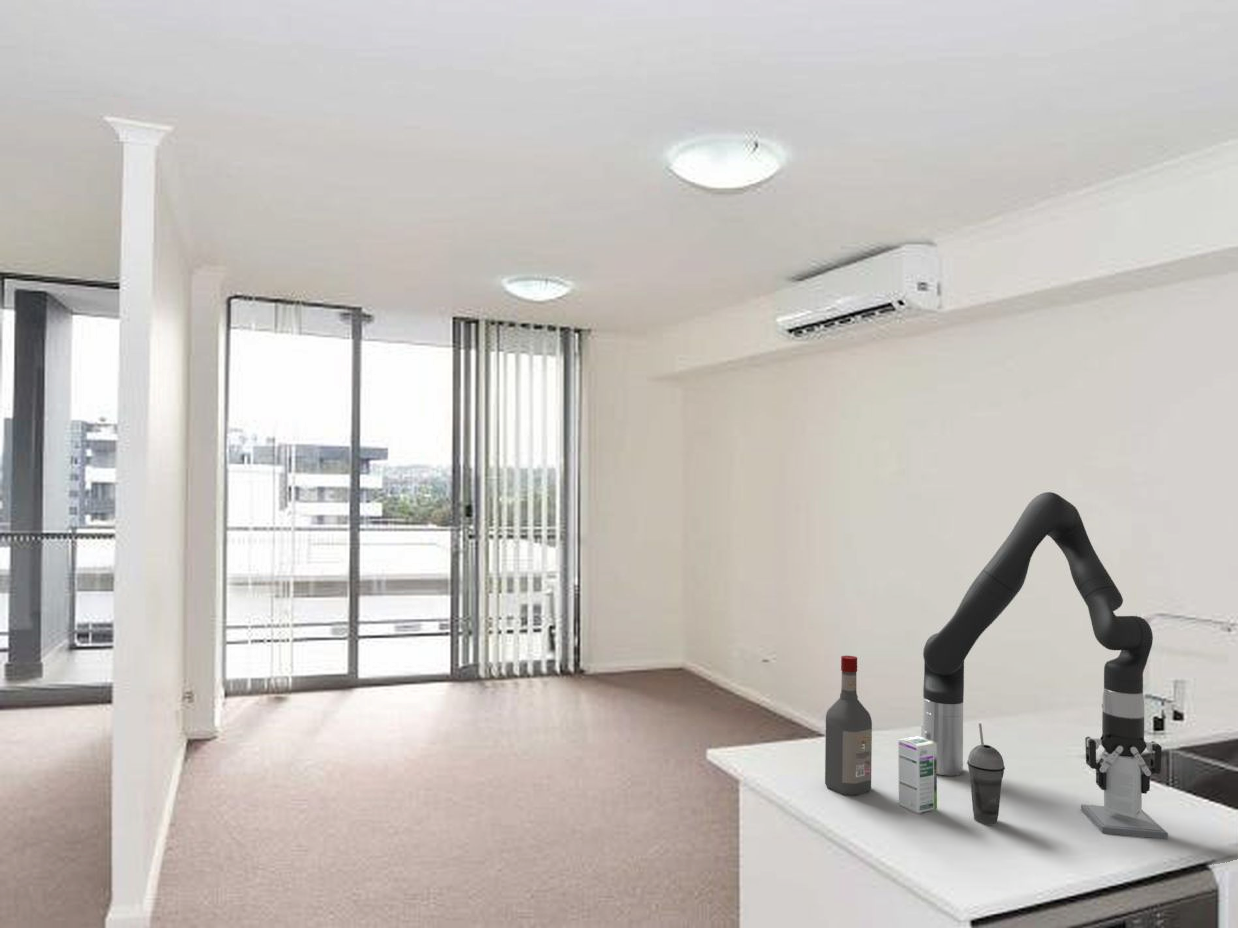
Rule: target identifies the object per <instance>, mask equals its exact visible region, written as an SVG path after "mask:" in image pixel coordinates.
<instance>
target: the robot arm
mask: <svg viewBox="0 0 1238 928" xmlns="http://www.w3.org/2000/svg"><path fill="white" fill-rule="evenodd" d="M1046 537H1050V538H1051V540H1052V541H1054V543H1055V544H1056V545H1057V546H1058V548H1059V549H1060V550H1061V552H1062V553H1063V555H1064V556H1065V558H1066V560H1067V563H1068V566H1069V570H1070V575H1071V578H1072V579H1073V582H1074V585H1075V587H1076V589H1077V591H1078V593H1079V594H1080V596H1081V598H1082V599H1083V601H1084V603H1085V604H1086V606H1087V608H1088V609H1087V610H1088V614H1089V618H1090V621H1091V627H1092V631H1093V635H1094V636H1095V639H1096V641H1097V642H1098V643H1099V644H1100V645H1101V646H1102V647H1103V648H1105V649H1107V650H1110V651H1120V652H1119V655H1118V656H1117V657H1116V658H1114V659H1110V660H1108V661H1106V662H1105V663H1104V668H1103V692H1102V700H1101V701H1102V703H1101V709H1102V710H1101V711H1102V714H1101V715H1102V718H1101V719H1102V720H1101V721H1102V723H1101V727H1102V728H1101V729H1102V730H1101V733H1102V734H1101V737H1100V738H1092V737H1090V736H1086V737H1085V740H1084V741H1085V745H1084V746H1085V763H1086V765H1087V766H1089V767H1090V768H1091V769H1092V770H1095V783H1096V786H1097V787H1099V789H1100V790H1101V791H1104V790H1106V775H1107V773H1106V772H1105V771H1106V770H1107V768H1108V767H1109V766H1110V765H1112V764H1113V762H1114V761H1115V759H1116V758H1117V757H1118V756H1127V757H1135V758H1138V759H1139V765H1140V768H1141V781H1142V794H1144V795H1146V794H1148V792H1149V791H1150V790H1151V789H1150V788H1151V786H1150V785H1151V784H1150V783H1151V776H1153V775H1156V774H1157V775H1159V774H1161V773H1162V771H1161V770H1162V751H1163V749H1162V746H1161V745H1160V744H1159V743H1157V742H1156V741H1154V740H1153V741H1151V742H1148V741H1145V699H1144V671H1145V668H1146V665H1147V663H1148V659H1149V657H1150V653H1151V649H1152V646H1153V643H1154V642H1153V641H1154V634H1153V631H1152V628H1151V625H1150V624H1149V622H1148V621H1147V620H1146V619H1145V618H1143V617H1141V616H1139V615H1116V614H1115V613H1114V612H1115V611H1117V610H1118V609H1119V608H1121V606H1122V605H1123V603H1124V598H1123V595H1122V593H1121V592H1120V590H1119V589H1118V587H1117V585H1116V584H1115V583H1114V581H1113V579H1112V577H1111V576H1110V574H1109V572H1108V571H1107V569H1106V568H1105V566H1104V564H1103V563H1102V562H1101V559H1100V558H1099V556H1098V554H1097V553H1096V552H1097V551H1095V549H1094V546H1093V545H1092V543H1091V540H1090V538H1089V536H1088V534H1087V530H1086V528H1085V526H1084V522H1083V520H1082V517H1081V514H1080V513H1079V511H1078V509H1077V508H1076V506H1075V505H1073V504H1072V503H1071V502H1069V501H1068V500H1067V499H1065V498H1064V497H1062V496H1061V495H1059V494H1057V493H1055V492H1051V491H1048V492H1047V491H1046V492H1042V493H1039V494H1038V495H1036V496H1035V497H1034V498H1033V499H1032V500H1031V501H1030V502H1029V503H1028V504H1027V506H1026V507H1025V509H1024V510H1023V512H1022V513H1021V515H1020V517H1019V518H1018V520H1017V521H1016V523H1015V525H1014V527H1013V529H1012V530H1011V532H1010V533H1009V534H1008V536H1007V537H1006V539H1005V540H1004V542H1003V543H1002V544H1001V545H1000V547H999V548H998V549H997V551H996V552H995V553H994V555H993V556H992V558H991V559H990V560H989V561H988V563H987V564H986V565H985V566H984V568H983V569H981V571H980V573H979V574H977V576H976V578H975V579H974V581H973V582H972V583H971V585H970V586H969V588H968V589H967V591H966V593H965V595H964V596H963V598H962V600H961V602H960V604H959V606H958V608H957V609H956V611H955V612H954V614H953V616H952V617H951V618H950V620H949V621H948V622H947V623H946V624H945V625H944V626H943V627H942V629H940V630H939V631H938V632H936V633H934V634H932V635H930V636H929V637H928V638H927V640H926V642H925V644H924V647H923V653H922V654H923V657H922V658H923V661H924V664H923V665H924V667H923V668H924V669H923V670H924V672H923V673H924V674H923V675H924V676H923V677H924V678H923V688H922V689H923V690H922V691H923V693H922V694H923V707H922V710H923V712H922V713H923V715H922V718H923V719H922V725H921V729H920V732H921V736H920V737H923V738H926V739H929V740H931V741H934V742H936V744H937V775H941V776H948V777H949V776H951V777H952V776H953V777H954V776H959V775H962V774H963V771H964V697H965V696H964V692H965V691H964V689H965V659H966V658H967V656H968V654H969V653H970V651H971V650H972V649H973V647H974V645H975V643H976V642H977V641H978V640H979V638H980V637H981V635H982V634H983V633H984V632H985V631H986V630H987V629H988V628H989V627H990V625H992V624H993V623H994V621H996V620H997V619H998V617H999V616H1000V615H1002V613H1003V612H1004V611H1005V609H1006V608H1007V607H1008V606H1009V605H1010V603H1011V602H1013V600H1014V599H1015V597H1016V596H1017V595H1018V593H1019V592H1020V591H1021V589H1023V586H1024V584H1025V581H1026V578H1027V574H1028V570H1029V567H1030V563H1031V559H1032V557H1033V555H1034V552H1035V551H1036V550H1037V548H1038V546H1039V545H1040V544H1041V543H1042V541H1043V540H1044V539H1045V538H1046ZM1100 746H1102V748H1103V751H1102V753H1101V754H1100V756H1099V758H1098V760H1097V750H1099V748H1100ZM1146 749H1147V752H1148V753H1149V760H1148V761H1149V762H1148V764H1149V765H1147V763H1146V762H1145V760H1144V758H1143V757H1142V754H1143V753H1144V751H1145V750H1146ZM1105 752H1107V753H1108V754H1109V756H1108V757H1107V758H1106V757H1105V756H1104V753H1105ZM1111 758H1112V759H1111Z"/></svg>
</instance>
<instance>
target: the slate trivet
mask: <svg viewBox="0 0 1238 928" xmlns="http://www.w3.org/2000/svg"><path fill="white" fill-rule="evenodd" d="M1080 811H1081V812H1082V813H1083V814H1084V815H1085V816H1086V817H1087V818H1088V819H1089V821H1091V823H1093V825H1094V826H1095V827H1096V828H1097V829H1098V830H1099V831H1100V832H1101V833H1102V834H1108V835H1109V834H1110V835H1121V836H1131V837H1142V838H1154V839H1165V840H1168V837H1169V833H1168V831H1166V830H1165V829H1164V828H1163V827H1162V826H1161V825H1160V824H1158V823H1157V822H1156V820H1154V819H1153V818H1152V817H1151V816H1149V815H1148V814H1147V813H1146V812H1145V811H1144V810H1143V809H1142V813H1141V814H1140V815H1139V816H1138V817H1137V818H1132V817H1128V816H1125V815H1121V814H1117V813H1114V812H1110V811H1106V810H1104V805H1094V804H1086V803H1085V804H1083V803H1081V804H1080Z"/></svg>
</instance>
